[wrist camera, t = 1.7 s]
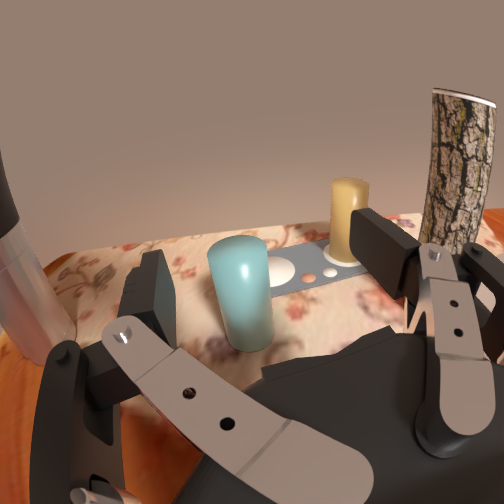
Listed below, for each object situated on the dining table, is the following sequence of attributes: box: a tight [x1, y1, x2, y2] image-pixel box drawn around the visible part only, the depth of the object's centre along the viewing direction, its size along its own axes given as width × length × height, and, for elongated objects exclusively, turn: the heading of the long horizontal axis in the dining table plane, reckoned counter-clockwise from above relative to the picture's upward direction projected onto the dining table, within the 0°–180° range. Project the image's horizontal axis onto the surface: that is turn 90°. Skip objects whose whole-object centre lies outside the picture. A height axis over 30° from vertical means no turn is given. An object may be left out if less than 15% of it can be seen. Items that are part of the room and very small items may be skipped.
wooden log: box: [404, 88, 496, 301], centre depth 23 cm, size 7×7×25 cm
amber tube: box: [329, 178, 369, 263], centre depth 37 cm, size 5×5×11 cm
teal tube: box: [207, 235, 274, 352], centre depth 27 cm, size 5×5×11 cm
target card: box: [267, 238, 368, 298], centre depth 39 cm, size 24×10×1 cm, turn 102°
